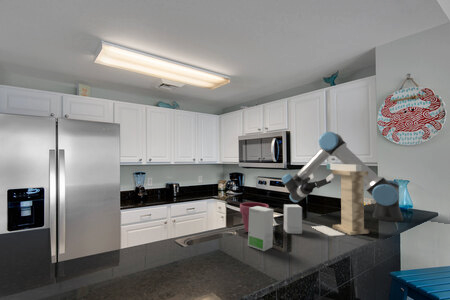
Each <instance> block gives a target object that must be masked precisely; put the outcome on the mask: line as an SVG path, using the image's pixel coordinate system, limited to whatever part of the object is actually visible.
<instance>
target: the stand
mask: <svg viewBox="0 0 450 300" xmlns="http://www.w3.org/2000/svg"><path fill="white" fill-rule="evenodd" d="M331 174H334V175H339V176H340V187H341V188H340V206H341V208H340V211H341V213H340V215H341V217H340V220H341V223H340V224H339V223H338V224H332V229H333V230H336V229H337V230H336V231H338V232H341V231H342V232H341V233H343V234H346V233H347V235H349V236H354V235H355V236H356V235H363V234H370V230H369V229H367V228H365V218H364V217H365V213H364V211H365V206H364V205H365V204H364V197H365V196H364V195H365V194H364V189H365V188H364V184H363V176H366V175H368V171H343V170H331Z"/></svg>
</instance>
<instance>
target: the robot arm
mask: <svg viewBox="0 0 450 300" xmlns="http://www.w3.org/2000/svg"><path fill="white" fill-rule="evenodd" d="M318 145H319V146H320V149H319V150H318V151H317V152H316V153H315V154H314V155H313V156H312V157H311V158H310V159H309V160H308V161H307V162H306V163H305V164H304V166H303V167H302V168H301V169H299V170H298V172H297V173H296V174H295V175H292V174H290V173H287V174H285V175H283V176H282V178H281V181H282V183H283V185H284V186H285V187H286V190H287V191H288V192H289V199H290V201H292V202H293V203H298V202H300V201H302V200H303V199H304V198H306V197H307V196H308V195H310V194H312V193H313V191H314V189H315V188H317V189H319V188H321V187H323V186H327V185H329V184H330V183H332V180H333V179H334V178H335V177H336V176H335V174H332V173H330V174H329V175H328V176H326V177H325V178H323V179H321V180H318V181H313V180H314V179H315V178H316V176H315V173H314V172H315V171H316V170H317V169H318V168H319V167H320V166H321V165H322V164H323V163H324V162H325V161H326V160H327V159H328V158H329V157H330V156H331V157H335V158H336V159H337V160H339V161H340V163H341V164H353V165H361V171H368V175H366V176H363V186H365V190H366V191H367V192H368V193H369V194H370V195H371V196H372V198H373V200H374V201H375V207H374V210H373V213H372V218H373V219H376V220H378V221H379V220H380V221H385V222H393V223H394V222H395V223H397V222H398V223H400V222H403V221H404V216H403V214H402V211H401V208H400V184H399V181H396V180H390V179H389V180H387V179H386V178H385V177H384V176H378V174H376V173H375V172H374V171H373V170H372V169H371V168H370V167H369V166H368V165H367V164H366V163H364V162H363V161H362V160H361V159H360V158H359V157H358V156H357V155H356V154H355V153H354V152H353V151H351V150H350V149H349V148H348V147H347V142H345V140H343V137H342V136H341V135H340V134H338V133H335V131H334V132H332V131H326V132H323V133H322V134H321V135H320V136H319V138H318Z"/></svg>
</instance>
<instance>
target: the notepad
mask: <svg viewBox="0 0 450 300" xmlns="http://www.w3.org/2000/svg"><path fill="white" fill-rule="evenodd" d="M311 227H312V228H311V229H313V228H314V229H313V230H315V229H316V231H318V232H320V233H323V234H325V235H326V236H328V237H340V236H346V233H344V232H341V231H339V230H336V229H334V228H332V227H328V226H325V225H316V226H311Z"/></svg>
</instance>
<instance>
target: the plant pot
mask: <svg viewBox="0 0 450 300" xmlns="http://www.w3.org/2000/svg"><path fill="white" fill-rule="evenodd" d="M255 206H260V207H266V208H269V207H270V206H269V204H268V203H267V204H266V203H262V202H251V201H250V202H248V201H247V202H242V203H240V204H239V212H240V214H241V216H242V217H241V219H242V222H243V223H242V224H243V226H244V227H243V228H244V231H245V232H248V228H249V208H251V207H255ZM269 209H270V208H269Z"/></svg>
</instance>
